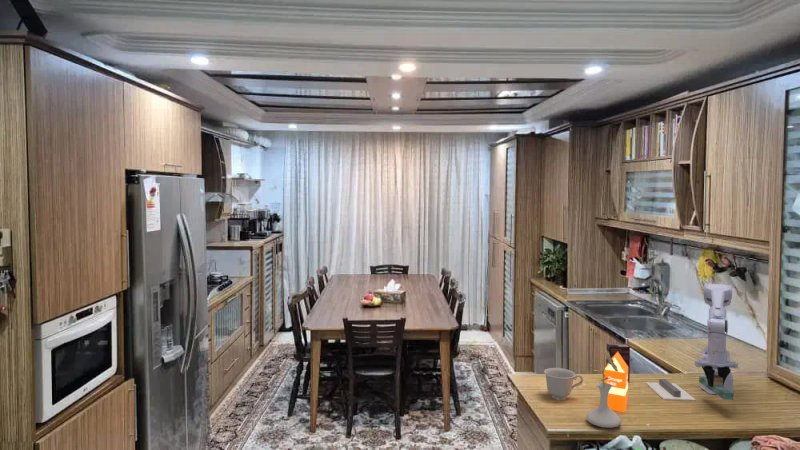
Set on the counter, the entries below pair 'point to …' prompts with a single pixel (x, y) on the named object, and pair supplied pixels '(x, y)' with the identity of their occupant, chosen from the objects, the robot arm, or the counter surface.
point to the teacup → (561, 382)
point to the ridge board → (667, 395)
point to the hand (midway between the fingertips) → (715, 386)
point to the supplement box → (622, 350)
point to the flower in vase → (604, 404)
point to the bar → (717, 387)
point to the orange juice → (617, 384)
